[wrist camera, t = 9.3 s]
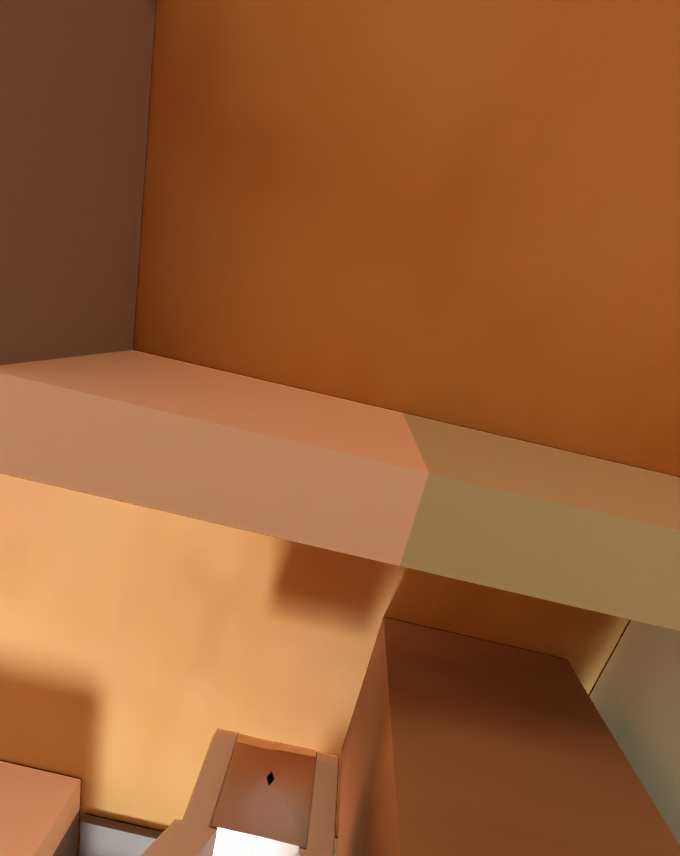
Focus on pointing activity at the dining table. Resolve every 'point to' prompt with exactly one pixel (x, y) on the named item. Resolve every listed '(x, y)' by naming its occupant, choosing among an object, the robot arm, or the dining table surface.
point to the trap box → (271, 422)
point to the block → (485, 757)
